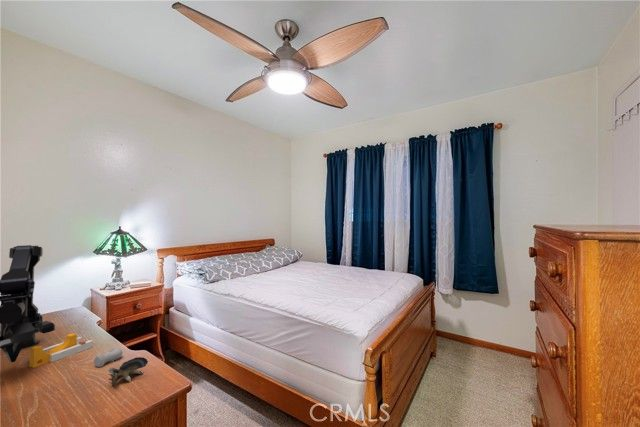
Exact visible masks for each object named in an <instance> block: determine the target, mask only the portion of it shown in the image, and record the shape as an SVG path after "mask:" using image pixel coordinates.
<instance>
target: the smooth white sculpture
mask: <svg viewBox="0 0 640 427" xmlns="http://www.w3.org/2000/svg"><path fill="white" fill-rule="evenodd" d="M122 355H123V350H122V349H121V348H112V349H111V350H109V351H107V352H105V353H104V354H102V353H99V354H97V355H96V356H95V358H94V360H93V364H94V366H96V367H98V368H101V367H103V366H104V365H105V364H106V363H108V362H115V361H116V360H117V359H119V358H121V357H122ZM114 360H115V361H114Z"/></svg>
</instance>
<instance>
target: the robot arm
mask: <svg viewBox="0 0 640 427" xmlns="http://www.w3.org/2000/svg"><path fill="white" fill-rule="evenodd" d="M8 253H9V254H8V258H9V259H12V260H11V263H10V267H9V270H8V271H6V272H5V273H3V274H2V275H1V277H0V349H1V350H2V351H3V353H4V354H5V355H6V358H7V360H8V361H9V362H10V363H11V364H13V363H14V362H16V361H17V359H18V357H19V354H20V352H21V350H22V349H24V348H27V347H32V346H33V345H34V346H35V345H39V344H40V341H39V340H36V334H38V333H42V334H47V333H50V332H54V331H55V330H56V324H55V323H54V322H51V321H47V320H44V318H43V315H41V313H40V312H39V308H38V306H36V305H35V303H34V291H35V284H36V282H35V279H34V278H35V267H36V266H37V265H38V264H39V262H40V260H41V257H43V247H42V246H39V245H31V244H29V245H27V244H26V245H16V246H13V247H11V248H9V252H8ZM43 320H44V321H43Z"/></svg>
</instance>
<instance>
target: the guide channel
mask: <svg viewBox="0 0 640 427" xmlns="http://www.w3.org/2000/svg"><path fill="white" fill-rule="evenodd" d="M93 342H94V340H91V339H90V340H87V341H86V340H84V339H83V337H82V336H78V337H77V345H75V346H72V347H70V348H67V349H64V350H61V351H58V352H56V353H53V354H50V362H51V363H53V362H58V361H60V360H62V359H65V358H68V357H70V356H72V355H76V354H78V353H80V352H83V351H85V350H89V349H91V348H93V346H94V343H93ZM63 343H64V341H63V342H60V343H57V344H54V345H51V346H48V347H45V348H42V349H43V351H44V352H45V353H47V352H48V351H49V350H52V349H53V348H55V347H56V346H57V345H60V344H63Z"/></svg>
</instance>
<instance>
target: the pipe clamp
mask: <svg viewBox="0 0 640 427" xmlns="http://www.w3.org/2000/svg"><path fill="white" fill-rule="evenodd" d="M77 336H78V334H77V333H70V334H67V335H65V340H64V341H63V342H64V343H63V344H60V345H57V344H56V345H57V346H56V347H55V348H53V349H52V350H49V351H48V352H47V353H45V352H44V351H43V349H44V348H43V346H42V345H39V344H36V345H34V346H30V347H29V363H28V364H29V368H37V367H39V366H43V365H45V364H47V363H49V362H50V354H53V353H56V352H58V351H61V350H64V349H67V348H70V347H72V346H75V345H77Z"/></svg>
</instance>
